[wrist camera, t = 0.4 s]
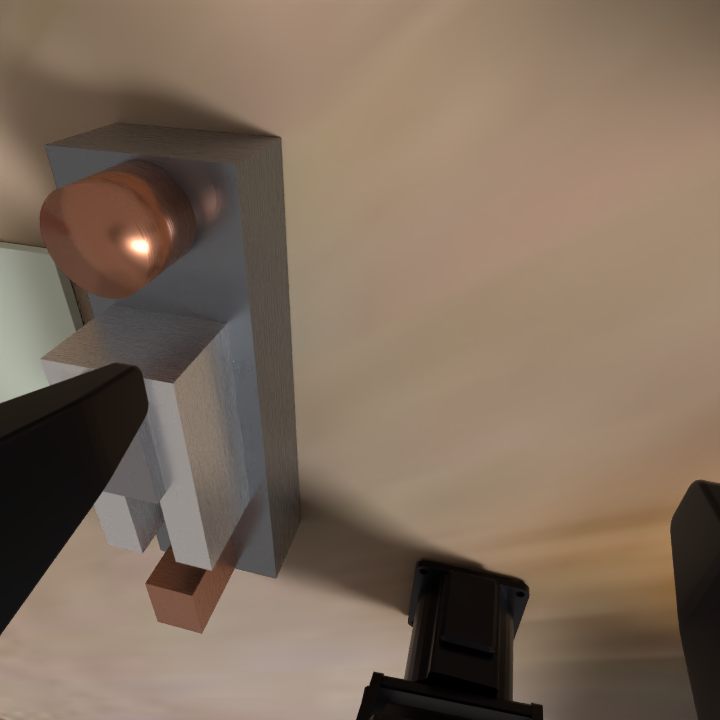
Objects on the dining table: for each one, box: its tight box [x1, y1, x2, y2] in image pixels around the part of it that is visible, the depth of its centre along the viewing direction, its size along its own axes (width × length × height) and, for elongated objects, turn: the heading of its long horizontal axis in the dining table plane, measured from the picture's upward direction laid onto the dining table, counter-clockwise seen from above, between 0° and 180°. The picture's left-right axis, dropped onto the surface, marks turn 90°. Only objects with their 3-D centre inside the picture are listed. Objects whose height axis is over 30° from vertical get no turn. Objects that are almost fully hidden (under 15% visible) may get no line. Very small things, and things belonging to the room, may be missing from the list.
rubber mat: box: [0, 242, 84, 403], centre depth 30 cm, size 12×10×1 cm
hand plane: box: [40, 123, 300, 634], centre depth 24 cm, size 22×7×8 cm, turn 178°
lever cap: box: [40, 305, 250, 571], centre depth 22 cm, size 10×5×5 cm, turn 178°
